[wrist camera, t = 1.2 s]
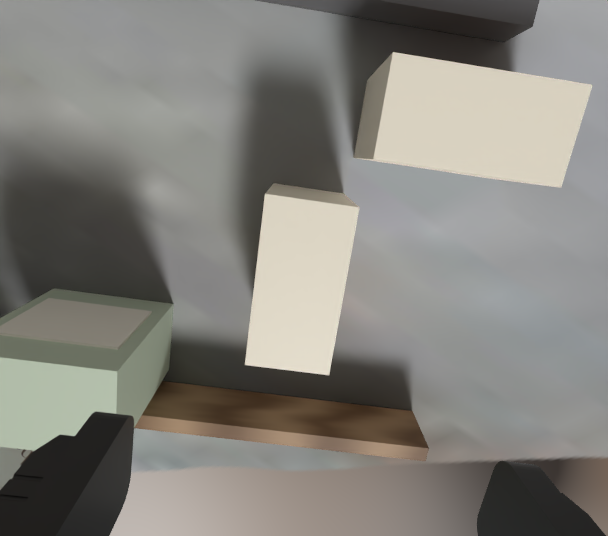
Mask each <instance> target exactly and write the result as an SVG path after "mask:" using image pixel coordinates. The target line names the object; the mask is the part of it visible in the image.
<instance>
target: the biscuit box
mask: <svg viewBox="0 0 608 536" xmlns="http://www.w3.org/2000/svg"><path fill="white" fill-rule="evenodd" d="M358 213H359V207H358V206H357V205H356V204H355V203H354V202H353V201H352V200H350V199H349V198H348V197H347V196H346V195H345V194H344V193H337V192H330V191H323V190H316V189H309V188H303V187H296V186H289V185H282V184H275V183H273V184H272V186H271V187H270V188H269V189H268V191H267V192H266V193H265V198H264V207H263V215H262V224H261V232H260V241H259V249H258V257H257V266H256V274H255V283H254V291H253V300H252V308H251V317H250V325H249V334H248V342H247V351H246V359H245V365H249V366H257V367H265V368H274V369H282V370H290V371H298V372H306V373H314V374H323V375H329V373H330V368H331V362H332V357H333V351H334V345H335V340H336V334H337V329H338V323H339V318H340V312H341V307H342V301H343V296H344V290H345V285H346V279H347V274H348V268H349V263H350V257H351V252H352V246H353V241H354V235H355V229H356V224H357V218H358Z"/></svg>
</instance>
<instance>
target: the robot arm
mask: <svg viewBox="0 0 608 536" xmlns="http://www.w3.org/2000/svg"><path fill="white" fill-rule="evenodd" d="M133 434H134V418H133V416H131V415H122V414H114V413H105V412H94V413H92V414H91V416H90V417H89V418H88V419H87V421H86V422H85V423H84V425H83V426H82V427H81V429H80V430H79V431H78V433H77V434H76V435H75V436H69V435H58V436H57V437H55V438H54V439H52V440H50V441H49V442H47V443H46V444H44V445H43V446H41V447H40V448H38V449H37V450H35V451H33V452H32V454H31V455H30V456H29V457H28V458H27V459H26V461H25V462H24V463H23V464H22V465H21V466H20V468H19V469H18V470H17V471H16V472H15V473H14V476H13V478H12V479H9V480H8V482H7V483H6V484H5V485H4V486H3V487H2V489H1V490H0V536H109V535H110V533H111V531H112V528H113V526H114V524H115V522H116V520H117V518H118V516H119V514H120V512H121V509H122V507H123V504H124V502H125V499H126V495H127V492H128V488H129V483H130V476H131V464H132V449H133ZM477 531H478V536H606V535H605V534H604V533H603V532H602V531H601V529H600V528H599V527H598V526H597V524H596V523H595V522H594V521H593V520H592V518H591V517H590V516H589V515H588V514H587V513H586V512H585V511H583V510H582V509H581V508H580V507H579V506H577V505H576V504H575V503H574V502H573V501H571V500H570V499H569V498H568V497H566V496H565V495H564V494H563V493H560V492H559V490H558V489H557V488H556V487H555V485H554V484H553V483H552V482H551V480H550V479H549V478H548V477H547V476H546V474H545V473H544V472H543V470H542V469H541V468H539V467H538V466H536V465H531V464H524V463H515V462H507V461H500V462H498V463H497V464H496V466H495V468H494V470H493V473H492V476H491V479H490V482H489V485H488V487H487V491H486V493H485V496H484V499H483V502H482V505H481V508H480V511H479V514H478V518H477Z"/></svg>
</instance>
